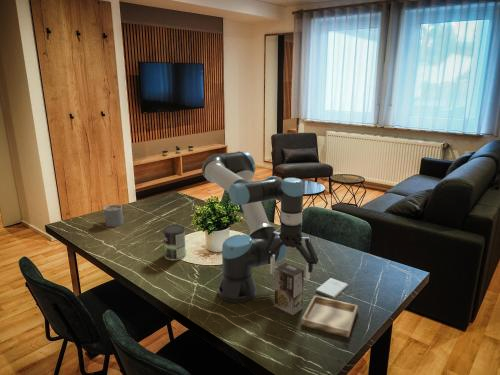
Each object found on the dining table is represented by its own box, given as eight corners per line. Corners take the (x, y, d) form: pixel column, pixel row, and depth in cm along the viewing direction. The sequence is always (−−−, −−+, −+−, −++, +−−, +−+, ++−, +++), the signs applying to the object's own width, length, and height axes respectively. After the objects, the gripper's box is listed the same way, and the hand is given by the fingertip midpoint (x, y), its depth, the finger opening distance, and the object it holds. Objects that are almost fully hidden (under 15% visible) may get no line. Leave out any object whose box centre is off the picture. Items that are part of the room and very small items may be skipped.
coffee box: (303, 308, 147) (304, 270, 143) (292, 316, 143) (294, 276, 138) (284, 299, 153) (285, 262, 148) (273, 306, 149) (274, 268, 144)
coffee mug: (126, 223, 228) (125, 207, 226) (110, 228, 222) (108, 211, 219) (115, 217, 238) (114, 202, 235) (100, 222, 231) (98, 206, 228)
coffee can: (165, 261, 183) (164, 234, 179) (163, 252, 192) (161, 226, 188) (187, 258, 186) (186, 231, 182) (184, 249, 195) (183, 223, 191)
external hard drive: (315, 292, 159) (330, 280, 168) (333, 300, 154) (347, 287, 163) (315, 289, 158) (330, 277, 167) (333, 296, 153) (348, 283, 162)
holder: (301, 324, 138) (301, 318, 137) (314, 300, 152) (314, 295, 151) (348, 337, 131) (349, 331, 130) (357, 311, 145) (357, 305, 145)
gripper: (254, 220, 140) (254, 273, 145) (323, 231, 130) (320, 287, 135) (262, 213, 146) (262, 264, 152) (328, 223, 136) (325, 278, 142)
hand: (289, 275), depth 144 cm, fingers open, 13 cm apart
